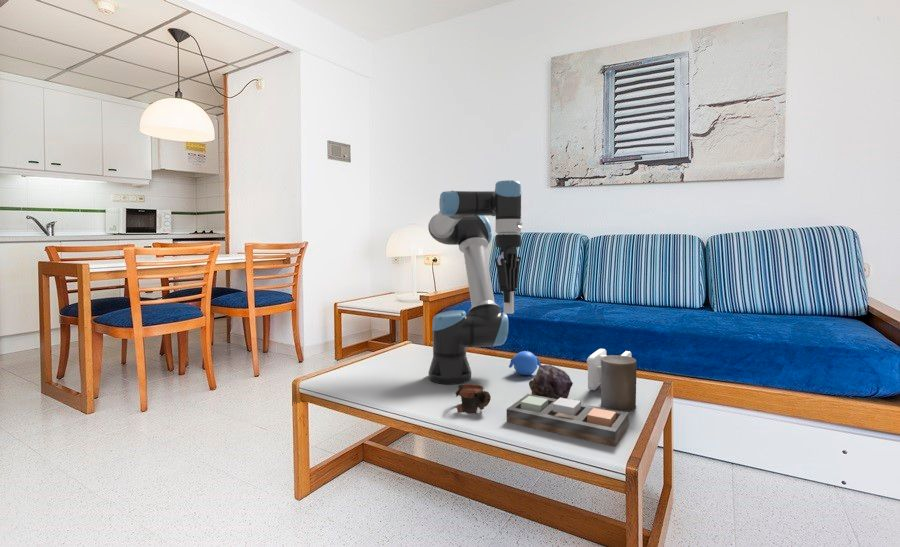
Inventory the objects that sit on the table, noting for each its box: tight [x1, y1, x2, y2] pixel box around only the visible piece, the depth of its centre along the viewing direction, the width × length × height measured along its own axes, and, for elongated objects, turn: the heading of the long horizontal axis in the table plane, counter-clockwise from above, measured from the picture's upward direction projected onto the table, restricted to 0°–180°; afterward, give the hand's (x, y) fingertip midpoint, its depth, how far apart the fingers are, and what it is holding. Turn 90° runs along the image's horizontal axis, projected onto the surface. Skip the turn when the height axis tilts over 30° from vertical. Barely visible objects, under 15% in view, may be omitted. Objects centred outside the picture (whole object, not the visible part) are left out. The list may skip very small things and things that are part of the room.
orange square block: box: [587, 408, 616, 427], centre depth 116 cm, size 6×6×2 cm
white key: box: [553, 398, 582, 416], centre depth 121 cm, size 6×6×2 cm
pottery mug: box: [454, 383, 492, 415], centre depth 133 cm, size 12×10×8 cm
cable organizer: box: [586, 348, 633, 391], centre depth 149 cm, size 15×11×12 cm
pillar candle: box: [600, 354, 637, 412], centre depth 133 cm, size 10×10×15 cm
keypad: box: [506, 393, 630, 447], centre depth 121 cm, size 28×14×4 cm, turn 57°
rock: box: [528, 364, 574, 399], centre depth 142 cm, size 12×9×10 cm
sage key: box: [521, 396, 548, 413], centre depth 126 cm, size 6×6×2 cm
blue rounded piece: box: [508, 350, 542, 376], centre depth 167 cm, size 12×12×8 cm
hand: (508, 313), depth 138 cm, fingers closed
